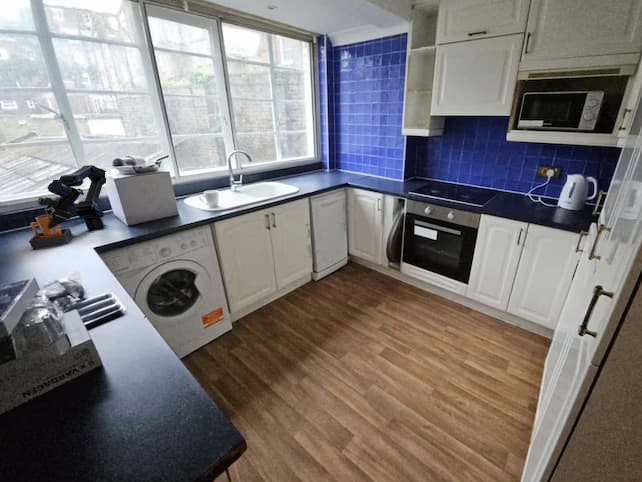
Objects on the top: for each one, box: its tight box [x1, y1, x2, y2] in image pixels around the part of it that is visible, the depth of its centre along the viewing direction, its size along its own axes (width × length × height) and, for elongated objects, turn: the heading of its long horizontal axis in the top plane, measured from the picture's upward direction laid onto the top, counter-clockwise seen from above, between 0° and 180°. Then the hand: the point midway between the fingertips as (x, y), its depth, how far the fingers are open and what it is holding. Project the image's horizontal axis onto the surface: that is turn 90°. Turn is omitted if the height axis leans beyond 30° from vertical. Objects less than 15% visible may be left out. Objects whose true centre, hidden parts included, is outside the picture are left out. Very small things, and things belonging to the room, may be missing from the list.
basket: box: [28, 227, 74, 251], centre depth 144 cm, size 12×11×5 cm
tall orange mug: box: [29, 214, 63, 239], centre depth 141 cm, size 9×6×13 cm
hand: (46, 226), depth 141 cm, fingers open, 9 cm apart
